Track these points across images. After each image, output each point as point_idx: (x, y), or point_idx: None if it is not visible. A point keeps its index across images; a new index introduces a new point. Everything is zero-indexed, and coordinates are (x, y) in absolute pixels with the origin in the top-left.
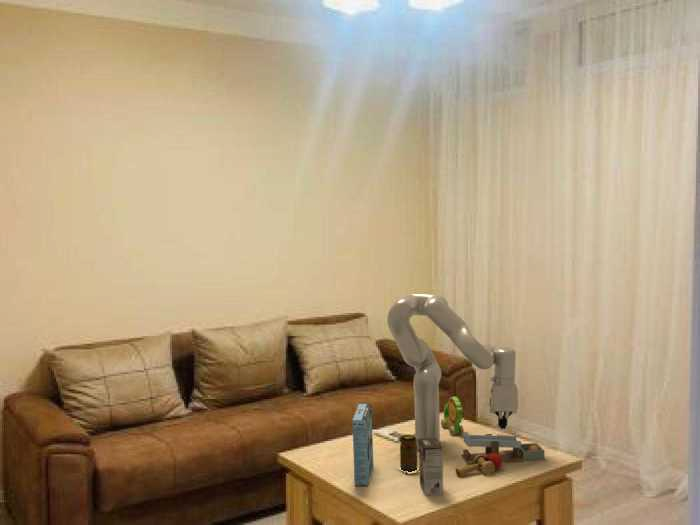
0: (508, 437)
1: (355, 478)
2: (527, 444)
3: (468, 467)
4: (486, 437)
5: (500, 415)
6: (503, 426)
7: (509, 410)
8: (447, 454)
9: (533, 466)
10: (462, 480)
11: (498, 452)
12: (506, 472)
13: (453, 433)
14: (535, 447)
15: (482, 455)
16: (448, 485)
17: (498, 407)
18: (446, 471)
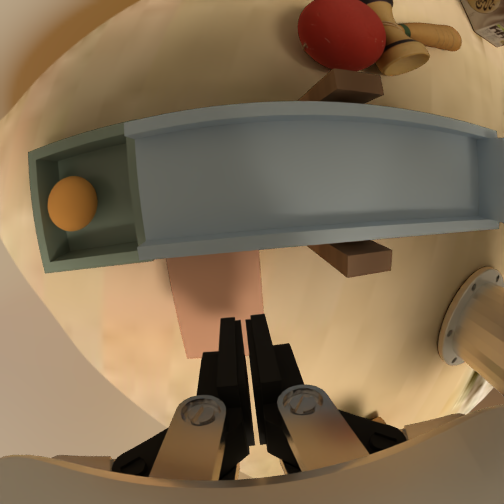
0: (206, 238)
1: None
2: (88, 255)
3: (433, 25)
4: (389, 222)
5: (319, 419)
6: (246, 328)
7: (137, 494)
8: (455, 246)
9: (126, 64)
10: (428, 13)
11: (309, 92)
12: (276, 9)
13: (379, 420)
14: (55, 189)
15: (405, 45)
16: (452, 9)
17: (491, 486)
18: (469, 90)
